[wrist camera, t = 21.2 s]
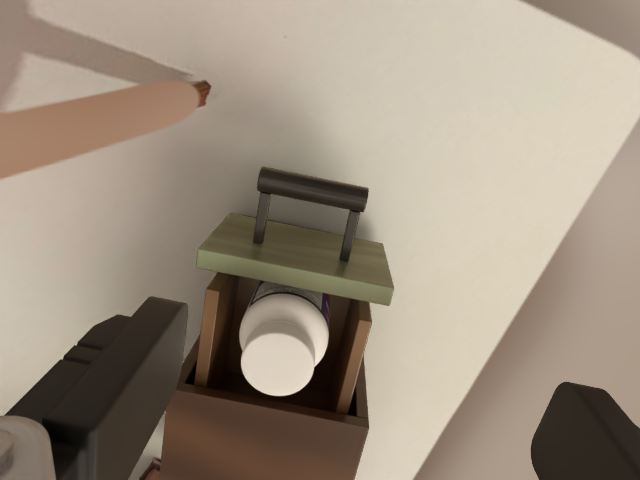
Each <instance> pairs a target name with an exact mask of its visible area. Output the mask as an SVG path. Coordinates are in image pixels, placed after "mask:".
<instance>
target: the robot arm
mask: <svg viewBox="0 0 640 480" xmlns="http://www.w3.org/2000/svg"><path fill="white" fill-rule="evenodd" d="M187 317H188V306H187V304H186V303H182V302H177V301H172V300H167V299H162V298H157V297H153V296H151V297H149V298H148V299H147V300H146V301H145V302H144V303H143V304H142V305H141V306H140V308H139V309H138V310H137V311H136V312H135V313H134V314H133V315H132V317H128V316H123V315H116V316H114V317H112V318H110V319H107V320H105V321H103V322H101V323H99V324H97V325H95V326H94V327H93V328H92V329H91V330H89V331H88V332H87V333H86V334H85V335H84V336H83V337H82V338H81V339H80V340H79V341H78V344H77V346H75V345H74V346H73V347H72V348H71V349H70V350H69V351H68V352H67V353H66V354H65V355H64V358H63V360H59V361H58V362H57V363H56V364H55V365H54V366H53V367H52V368H51V369H50V370H49V371H48V372H47V373H46V374H45V375H44V376H43V377H42V378H41V379H40V380H39V381H38V382H37V383H36V384H35V385H34V386H33V387H32V388H31V389H30V390H29V391H28V392H27V393H26V394H25V395H24V396H23V397H22V398H21V399H20V400H19V401H18V402H17V403H16V404H15V405H14V406H13V407H12V408H11V409H10V410H9V411H8V412H7V413H6V414H5V415H4V416H0V480H128V478H129V476H130V475H131V473H132V471H133V469H134V467H135V465H136V463H137V461H138V460H139V458H140V456H141V454H142V452H143V450H144V448H145V447H146V445H147V443H148V441H149V439H150V437H151V435H152V433H153V432H154V430H155V428H156V426H157V424H158V422H159V420H160V419H161V417H162V415H163V413H164V411H165V409H166V407H167V406H168V404H169V402H170V400H171V398H172V396H173V394H174V392H175V389H176V387H177V384H178V380H179V377H180V373H181V368H182V361H183V352H184V343H185V334H186V325H187ZM531 459H532V464H533V467H534V470H535V472H536V474H537V476H538V478H539V480H640V428H639V427H637V426H636V425H635V424H634V423H633V422H632V421H631V420H630V419H629V417H628V416H627V415H626V414H625V413H624V412H623V410H622V409H621V408H620V407H619V406H618V404H617V403H616V402H615V401H614V400H613V398H612V397H611V396H610V395H609V394H608V393H607V392H606V391H605V390H603V389H600V388H594V387H590V386H585V385H580V384H575V383H570V382H563V383H561V384H560V385H559V386H558V387H557V388H556V390H555V392H554V394H553V396H552V399H551V400H550V403H549V405H548V407H547V409H546V411H545V413H544V415H543V418H542V419H541V422H540V424H539V426H538V428H537V430H536V432H535V434H534V437H533V440H532V445H531Z"/></svg>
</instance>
